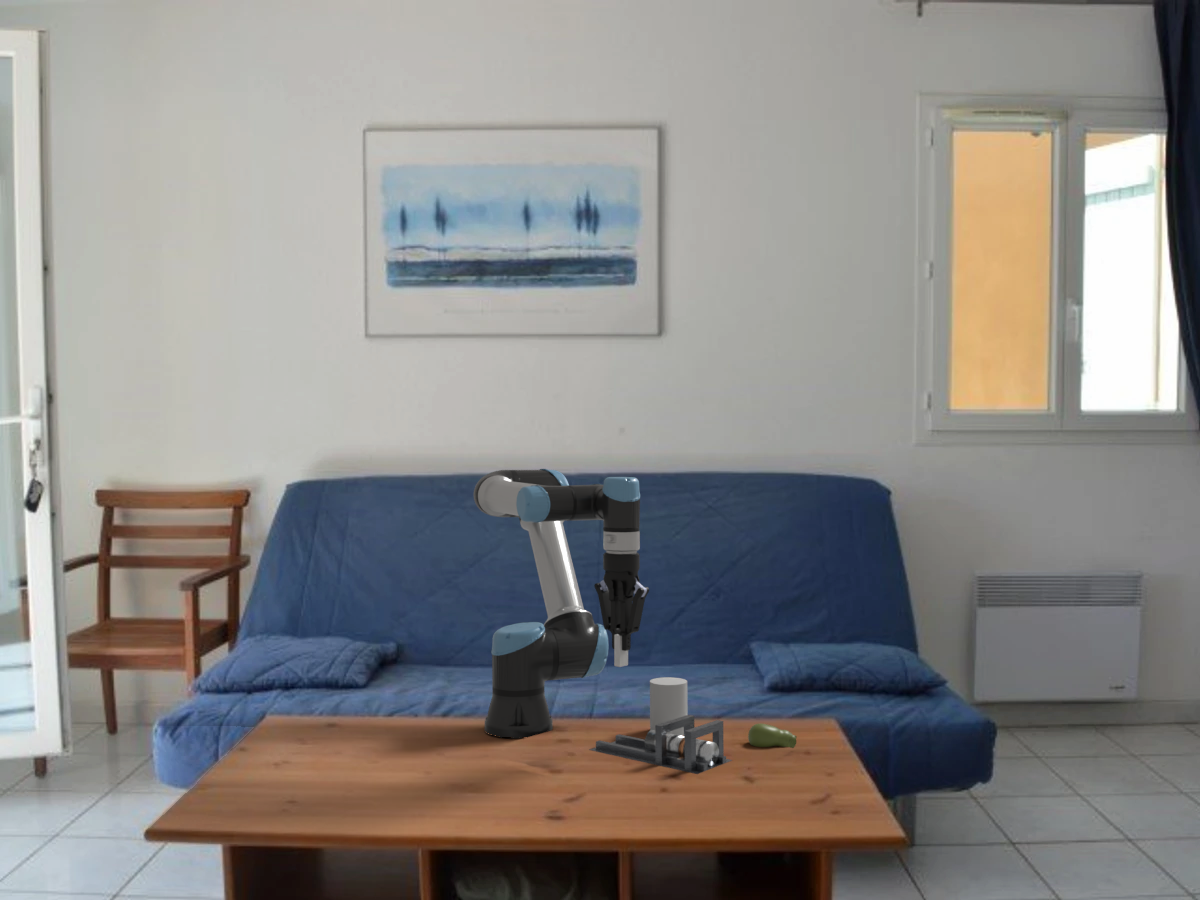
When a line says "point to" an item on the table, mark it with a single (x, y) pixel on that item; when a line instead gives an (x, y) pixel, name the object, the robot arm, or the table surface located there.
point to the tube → (676, 747)
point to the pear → (770, 736)
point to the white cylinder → (667, 701)
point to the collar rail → (638, 752)
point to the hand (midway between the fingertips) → (621, 665)
